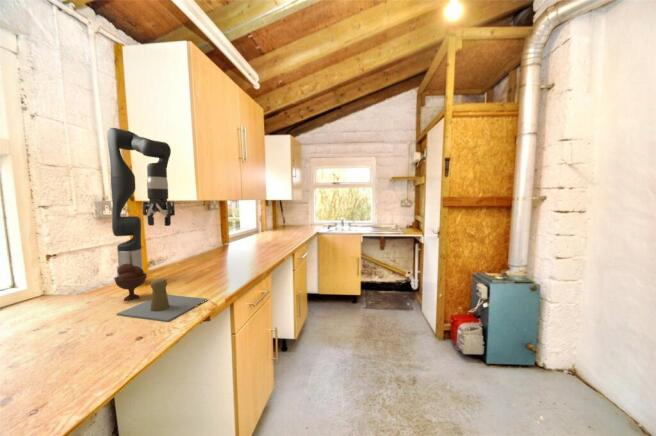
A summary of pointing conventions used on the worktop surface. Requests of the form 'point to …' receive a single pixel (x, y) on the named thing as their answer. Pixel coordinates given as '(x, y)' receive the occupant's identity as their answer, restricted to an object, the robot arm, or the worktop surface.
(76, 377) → the worktop surface
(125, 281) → the ice cream bowl
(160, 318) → the charcoal mat
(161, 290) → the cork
